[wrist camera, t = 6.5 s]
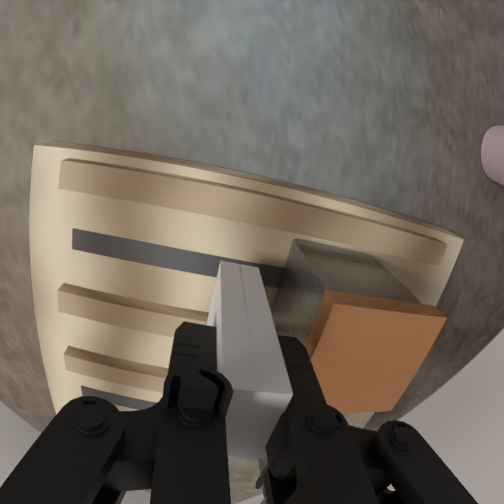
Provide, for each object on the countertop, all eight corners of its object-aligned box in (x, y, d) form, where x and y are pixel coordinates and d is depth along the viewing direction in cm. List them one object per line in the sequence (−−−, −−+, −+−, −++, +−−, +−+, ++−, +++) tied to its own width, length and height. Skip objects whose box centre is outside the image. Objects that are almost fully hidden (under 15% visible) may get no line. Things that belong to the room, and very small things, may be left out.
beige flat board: (64, 398, 19) (53, 424, 16) (54, 141, 13) (25, 146, 10) (340, 432, 23) (349, 457, 20) (444, 228, 17) (472, 245, 14)
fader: (264, 319, 15) (285, 412, 10) (290, 233, 14) (334, 303, 8) (345, 329, 16) (390, 410, 10) (377, 252, 14) (447, 317, 9)
